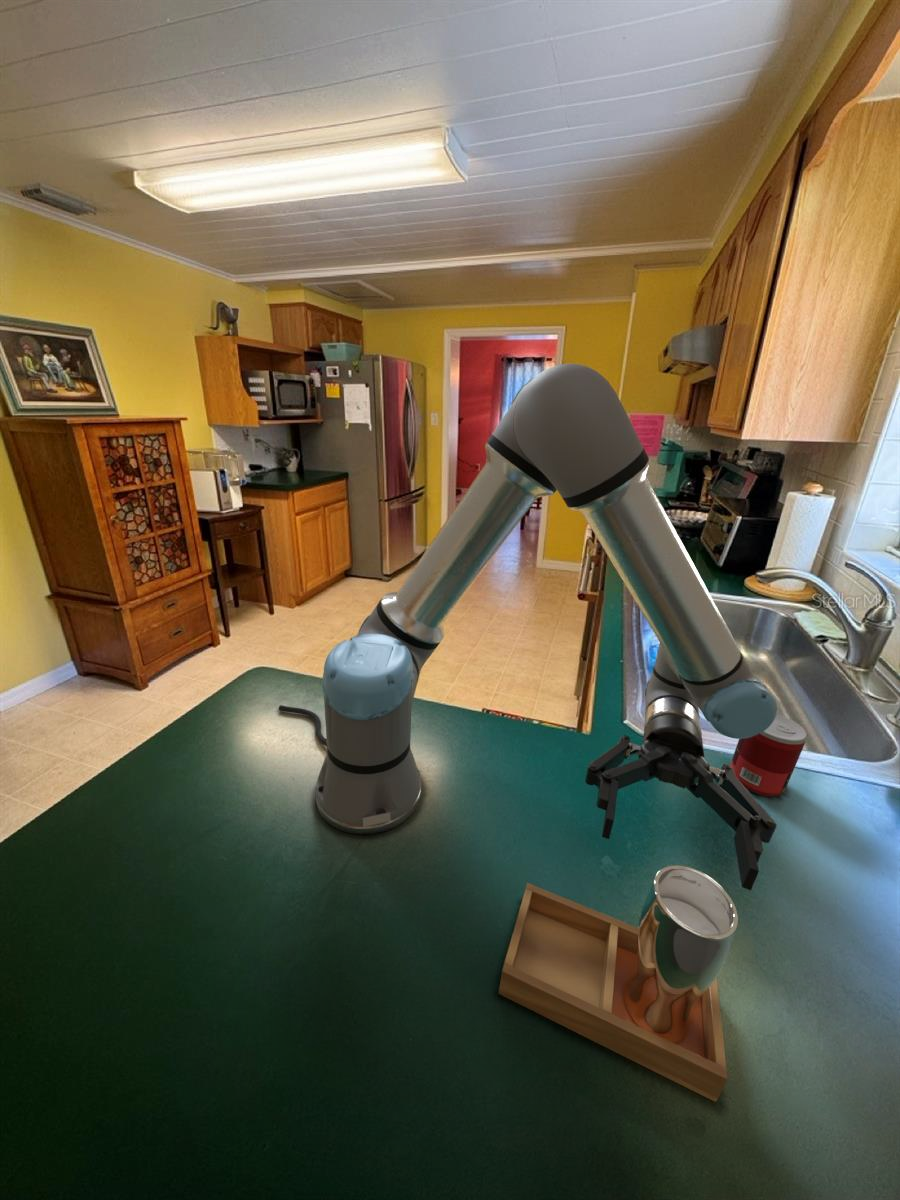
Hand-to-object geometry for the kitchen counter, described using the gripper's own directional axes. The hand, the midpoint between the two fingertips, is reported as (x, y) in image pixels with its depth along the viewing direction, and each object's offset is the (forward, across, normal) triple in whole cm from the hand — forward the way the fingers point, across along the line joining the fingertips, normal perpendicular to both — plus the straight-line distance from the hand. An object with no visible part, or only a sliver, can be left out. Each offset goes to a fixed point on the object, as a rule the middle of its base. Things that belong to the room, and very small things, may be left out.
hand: (675, 853), depth 49 cm
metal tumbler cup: (+8, -1, -12) cm, 14 cm away
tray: (+8, +4, -12) cm, 15 cm away
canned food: (-34, -16, -12) cm, 39 cm away
